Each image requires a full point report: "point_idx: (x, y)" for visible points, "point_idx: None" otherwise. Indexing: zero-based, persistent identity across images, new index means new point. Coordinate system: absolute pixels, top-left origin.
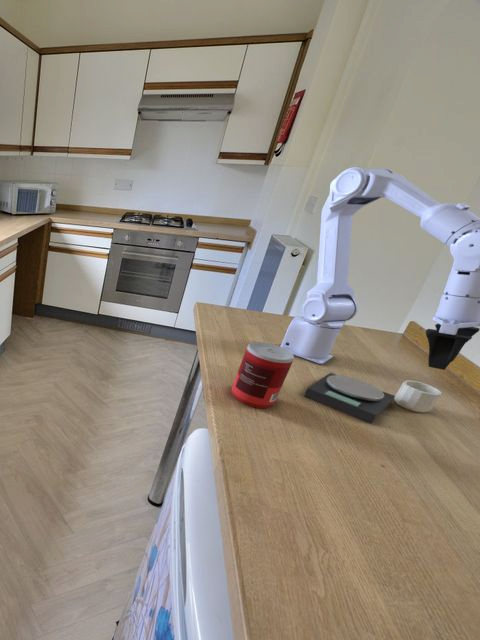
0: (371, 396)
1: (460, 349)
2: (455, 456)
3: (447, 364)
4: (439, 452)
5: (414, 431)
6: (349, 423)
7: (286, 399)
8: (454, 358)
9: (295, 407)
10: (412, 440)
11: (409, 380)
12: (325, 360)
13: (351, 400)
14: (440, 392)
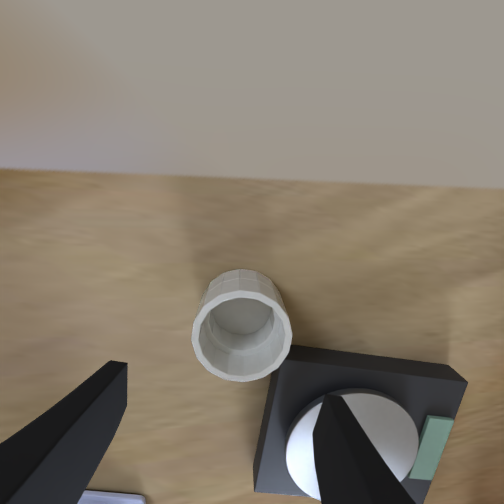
0: (395, 415)
1: (73, 423)
2: (487, 216)
3: (358, 422)
4: (491, 245)
5: (412, 290)
6: (482, 396)
7: (455, 499)
8: (115, 377)
9: (484, 480)
10: (470, 292)
11: (208, 370)
12: (111, 498)
13: (432, 435)
14: (239, 293)
